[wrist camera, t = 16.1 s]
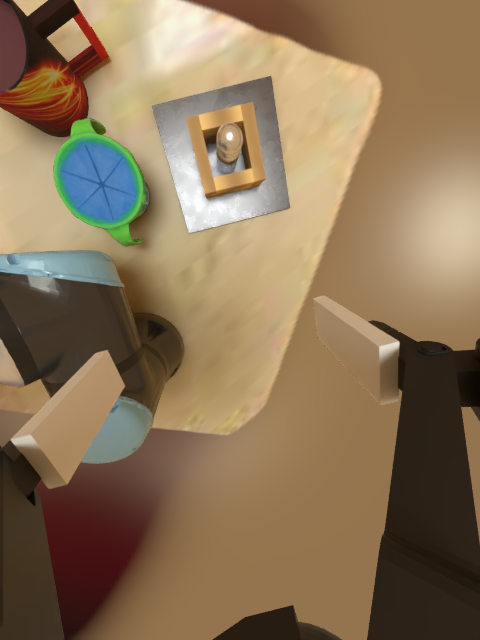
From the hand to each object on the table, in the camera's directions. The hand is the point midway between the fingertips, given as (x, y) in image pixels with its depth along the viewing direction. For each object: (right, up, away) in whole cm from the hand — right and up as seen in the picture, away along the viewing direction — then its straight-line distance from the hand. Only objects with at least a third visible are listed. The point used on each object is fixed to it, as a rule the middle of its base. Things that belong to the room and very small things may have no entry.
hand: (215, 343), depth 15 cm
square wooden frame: (-1, +27, +23) cm, 36 cm away
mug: (-24, +35, +19) cm, 46 cm away
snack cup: (-17, +22, +24) cm, 37 cm away
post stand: (-1, +27, +24) cm, 36 cm away
